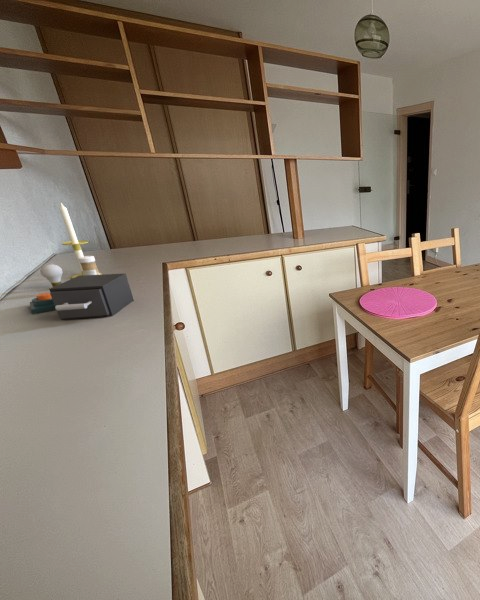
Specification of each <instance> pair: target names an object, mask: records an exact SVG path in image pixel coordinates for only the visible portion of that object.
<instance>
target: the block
mask: <svg viewBox="0 0 480 600" xmlns="http://www.w3.org/2000/svg"><path fill="white" fill-rule="evenodd" d="M29 307H30V311H31V313H32V315H37V314H42V313H48V312H53V311H57V310H56V309H55V305H54V302H53V300H52V298H51V299H46V300H38V298H37V297H34V298H32V299H31V301H29Z"/></svg>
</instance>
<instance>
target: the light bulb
mask: <svg viewBox="0 0 480 600" xmlns="http://www.w3.org/2000/svg"><path fill="white" fill-rule="evenodd" d="M63 273H64V272H63V269H62V267H60V266H59V265H56V264H53V263H51V264H50V263H49V264H45V265H43V266H41V268H40V275H41V277H43V278H45V279H46V280H48V281H49V283H50V284H51V286H52V287H55V286H57V285H59V284H61V283H62V282H61V281H62V275H63Z"/></svg>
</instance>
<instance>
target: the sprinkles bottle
mask: <svg viewBox="0 0 480 600" xmlns="http://www.w3.org/2000/svg"><path fill="white" fill-rule="evenodd" d="M78 260H79V262H80V264H81V266H82V269H83V272H84V275H100V274H99V273H100V271H99V269H98V266H97V264H96V259H95V256H94V255H84V257H79V258H78ZM78 260H77V261H78Z"/></svg>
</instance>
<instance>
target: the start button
mask: <svg viewBox="0 0 480 600" xmlns="http://www.w3.org/2000/svg"><path fill="white" fill-rule="evenodd" d="M36 298H38V300H46V299H51V298H52V297H51V295H50V292H43V293H38V294H36Z"/></svg>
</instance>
